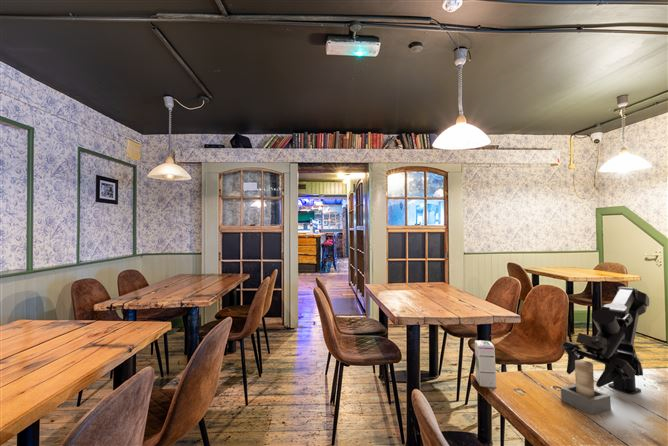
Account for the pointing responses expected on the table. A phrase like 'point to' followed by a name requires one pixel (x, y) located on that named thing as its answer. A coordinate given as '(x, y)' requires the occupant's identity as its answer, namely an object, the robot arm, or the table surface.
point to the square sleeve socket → (586, 400)
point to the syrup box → (485, 363)
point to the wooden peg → (584, 378)
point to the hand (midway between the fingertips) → (581, 379)
